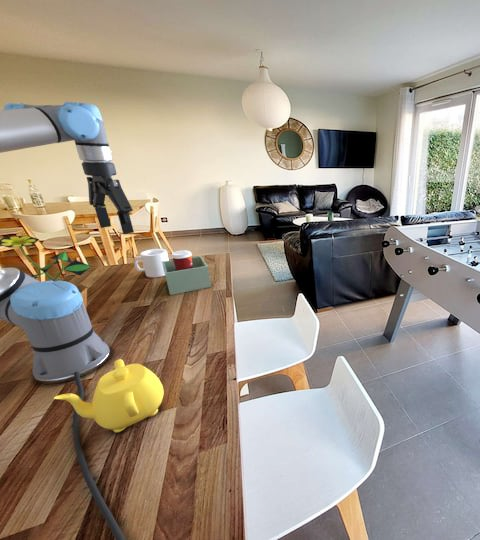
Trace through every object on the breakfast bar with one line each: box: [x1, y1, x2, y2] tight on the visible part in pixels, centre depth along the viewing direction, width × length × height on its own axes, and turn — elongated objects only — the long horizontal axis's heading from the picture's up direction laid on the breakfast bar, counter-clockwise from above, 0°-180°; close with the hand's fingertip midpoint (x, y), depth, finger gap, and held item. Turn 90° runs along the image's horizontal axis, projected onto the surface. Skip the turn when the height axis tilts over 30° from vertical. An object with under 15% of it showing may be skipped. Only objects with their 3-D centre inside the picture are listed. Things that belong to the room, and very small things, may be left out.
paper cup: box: [170, 249, 193, 271], centre depth 125 cm, size 8×8×14 cm
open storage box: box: [162, 255, 212, 296], centre depth 126 cm, size 16×16×10 cm
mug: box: [133, 248, 170, 278], centre depth 135 cm, size 14×10×11 cm
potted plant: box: [0, 234, 92, 309], centre depth 94 cm, size 18×19×30 cm
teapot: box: [53, 358, 165, 433], centre depth 64 cm, size 14×14×12 cm
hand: (117, 230), depth 95 cm, fingers open, 13 cm apart
